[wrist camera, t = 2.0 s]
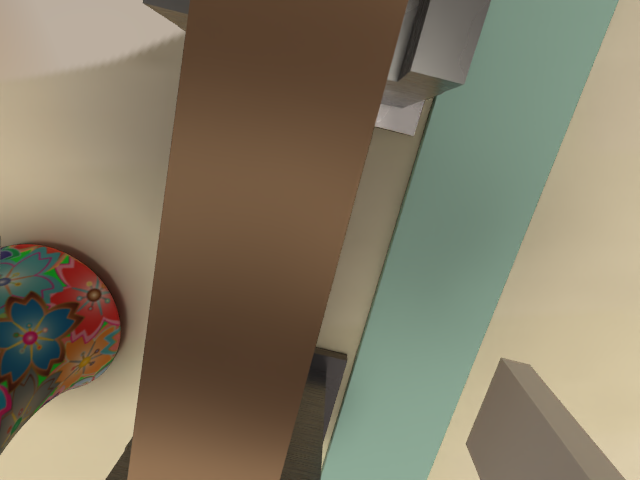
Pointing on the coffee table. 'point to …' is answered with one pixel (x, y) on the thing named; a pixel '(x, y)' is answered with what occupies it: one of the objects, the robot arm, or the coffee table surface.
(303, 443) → the post
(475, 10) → the post
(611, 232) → the coffee table surface
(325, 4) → the rail
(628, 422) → the coffee table surface
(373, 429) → the mat
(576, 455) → the robot arm
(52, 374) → the mug
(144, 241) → the coffee table surface
